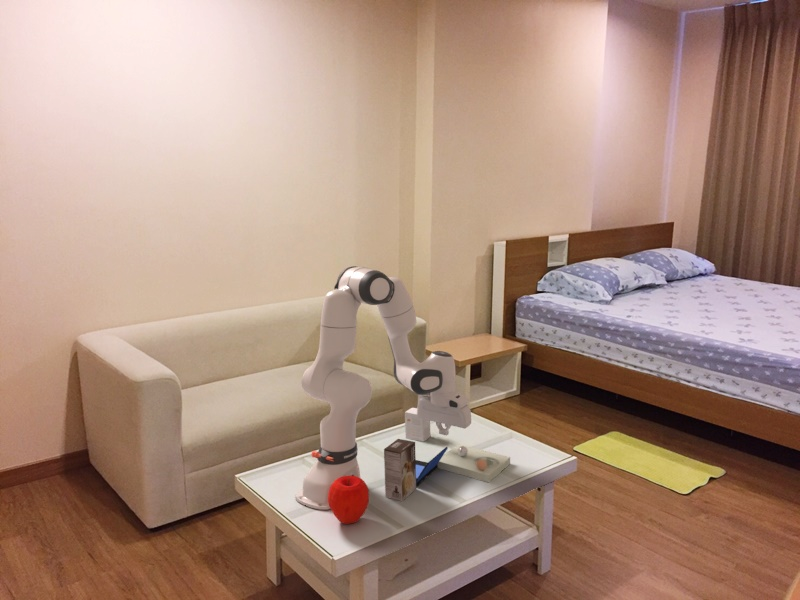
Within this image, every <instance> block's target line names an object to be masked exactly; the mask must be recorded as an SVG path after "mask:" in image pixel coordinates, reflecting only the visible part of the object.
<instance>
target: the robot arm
mask: <svg viewBox="0 0 800 600" xmlns="http://www.w3.org/2000/svg"><path fill="white" fill-rule="evenodd" d="M322 303H323V304H322V307H321V314H320V315H321V316H320V328H319V329H320V331H319V342H318V343H319V344H318V351H317V354H316V357H315V359H314V361H313V363H312V364H311V365H310V366H309V367H307V368H306V369H305V370H304V373H303V375H302V377H301V388H302V390H303V391H304V393H305V394H306V395H309V396H310V397H311V398H312V399H315V400H319V401H321V402H325V403H328V404H329V406H330V413H329V414H327V415H326V416H324V417H323V418H322V419H321V420H320V424H319V430H320V431H319V432H320V434H319V436H320V445H319V447H318V451H316V450H313V451H312V452H311V457H312V458H315V459H316V460H315V461H314V463H313V465H312V466H311V468H310V469H309V470H308V472H307V473H306V475H305V476H304V478H303V481H302V489H300V490H299V491H298V492H297V493H296V494H294V495H295V497H294V498H296V499H295V500H296V501H297V502H298V503H299V504H301V505H303V506H305V505H306V507H309V508H312V509H314V510H321V511H322V510H323V511H324V510H325V511H327V510H331V508H330V506H329V503H328V493H329V489H330V487H331V485H332V484H333V482H334V481H335V480H336V479H338V478H340V477H343V476H356V477H359V478H361V471H360V465H359V463H358V459H357V456H358V443H357V441H356V440H357V439H356V425H357V424H356V422H357V418H358V416H359V415H358V414H359V413H360V411H362V409H363V408H365V407H366V406H367V404H369V402H370V401H371V398H372V396H373V395H372V394H373V387H372V384H371V382H370V380H369V379H368V378H366V377H364V376H362V375H360V374H358V373H356V372H352V371H348V370H344V369H343V368H344V367H343V366H344V362H345V360H346V358H348V357H349V356H351V355H352V354H354V352H355V351H356V344H357V343H356V342H357V315H358V310H359V309H360V306H361V304H364V305H370V306H377V307H378V312H379V315H380V318H381V320H382V323H383V325H384V326H383V327H384V328H385V331H386V334H387V339H388V341H389V345H390V349H391V353H392V357H393V376H394V379H395V381H396V382H397V383H399V384H400V385H402V386H404V387H406V388H407V389H408V390H409V391H411V392H413V393H415V394H417V407H416V408H417V416H418V417H419V418H421V419H426V420H430V422H435V426H436V427H437V429H438V434H439V435H443V436H449V433H450V431H449V430H450V428H451V427H455V428H456V427H457V428H462V429H463V430H464V429H467V428H469V427H470V425H471V424H472V411H471V407H470V406H469V403H470V398H469V397H468V396H466V395H464V394H463V393H461V392H459V391H458V390H457V387H456V384H455V381H456V378H457V377H456V375H457V374H456V363H455V358H454V356H453V355H452V354H451V353H449V352H447V351H441V350H435V351H432V352H431V353H430V355H428V357H427V358H426V359H424V360H423V361H422V362H419V360H417V358H415V357H414V355H413V354H412V351H411V347H410V344H409V339H408V334H409V333H411V332H412V331H413V329H414V328H415V327H416V324H417V315H416V310H415V308H414V305H413V301H412V299H411V296H410V293H409V292H408V290H407V288H406V286H405V284H404V282H403V281H402V280H401V279H400V278H399V277H396V276H387V274H385V273H384V272H381V271H379V270H376V269H371V268H369V267H364V266H349V267H346V268H344V269H343V270H342V271H341V272H340V273H339V275H338V277H337V279H336V283H335V285H334V289H332V290H330V291H328V292H327V293H326V294H325V295H324V298H323V302H322ZM443 425H444V426H443ZM444 427H445V428H444ZM361 479H362V478H361Z"/></svg>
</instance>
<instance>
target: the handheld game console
mask: <svg viewBox="0 0 800 600" xmlns="http://www.w3.org/2000/svg"><path fill="white" fill-rule="evenodd" d="M447 450H448V446H446V447H444V448H443V449H442V450H440V452H439V453H437V454H436V455H434V457H433V458H432V459H430V460H429V461H428V462H427V461H422V460H419V459H418V460H417V459H416V488H417V487H419V485H420V484H421V483H422V482H424V481H425V480H426V478H427V477H429V476H430V475H432V473H434V472H435V471H437V469H439V468H438V466H437V464H438V462H439V461H440V459H441V458H442V456H443V455H445V454H446V453H447ZM426 476H427V477H426Z"/></svg>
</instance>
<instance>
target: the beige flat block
mask: <svg viewBox="0 0 800 600" xmlns="http://www.w3.org/2000/svg"><path fill="white" fill-rule="evenodd" d="M461 446H465V447H466V448H467V449H468V454H467V455H466V456H464V457H462V456H460V455H459V454H458V449H459V447H461ZM479 459H484V460H485V461H486V463H487V467H486V468H485V469H484V470H480V469H478V468H477V466H476V462H477V461H478V460H479ZM509 465H511V457H510V456H507V455H504V454H499V453H496V452H493V451H492V452H491V451H487V450H484V449H480V448H476V447H472V446H468V445H464V444H460V443H459V444H457V445H456V446H454V447H453V448H452V449H450V450H449V451H446V452H445V453H444V455H443V456H442V458H441V459H440V461H439V462H438V464H437V466H438V468H437V469H440V470H444V471H448V472H450V473H454V474H458V475H461V476H464V477H468V478H471V479H476V480H479V481H482V482H486V483H490V482H491V481H492V480H494V479H495V478H496V477H498V475H499V474H500V473H502V472H503V471H504V470H505V469H507V467H508V466H509ZM504 468H505V469H504ZM503 469H504V470H503ZM502 470H503V471H502ZM501 471H502V472H501Z"/></svg>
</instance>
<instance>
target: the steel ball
mask: <svg viewBox="0 0 800 600" xmlns="http://www.w3.org/2000/svg"><path fill="white" fill-rule="evenodd" d="M465 446H466V445H464V446H461V447H459V449H458V454H459V455H460V456H462V457H464V456H466V455H467V454H468V449H467V448H466V447H465Z"/></svg>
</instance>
